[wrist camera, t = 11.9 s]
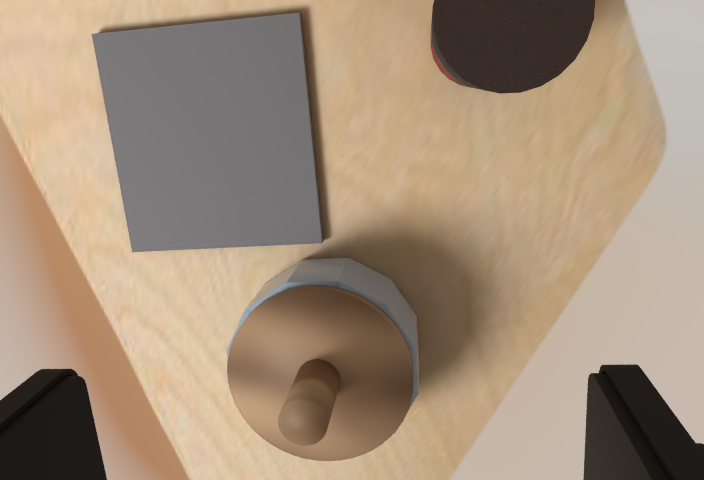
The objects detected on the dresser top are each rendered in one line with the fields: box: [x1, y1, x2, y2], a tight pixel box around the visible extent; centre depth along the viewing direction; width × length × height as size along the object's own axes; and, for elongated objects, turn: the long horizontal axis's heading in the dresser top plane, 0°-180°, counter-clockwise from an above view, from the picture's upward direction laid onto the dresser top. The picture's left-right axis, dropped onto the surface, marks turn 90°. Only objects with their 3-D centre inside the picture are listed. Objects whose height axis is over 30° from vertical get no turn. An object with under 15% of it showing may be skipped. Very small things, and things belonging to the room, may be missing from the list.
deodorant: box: [431, 0, 595, 93], centre depth 29 cm, size 6×6×15 cm
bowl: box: [227, 257, 419, 434], centre depth 41 cm, size 12×12×5 cm
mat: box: [92, 13, 323, 252], centre depth 40 cm, size 15×14×1 cm
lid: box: [227, 285, 414, 461], centre depth 35 cm, size 12×12×6 cm
